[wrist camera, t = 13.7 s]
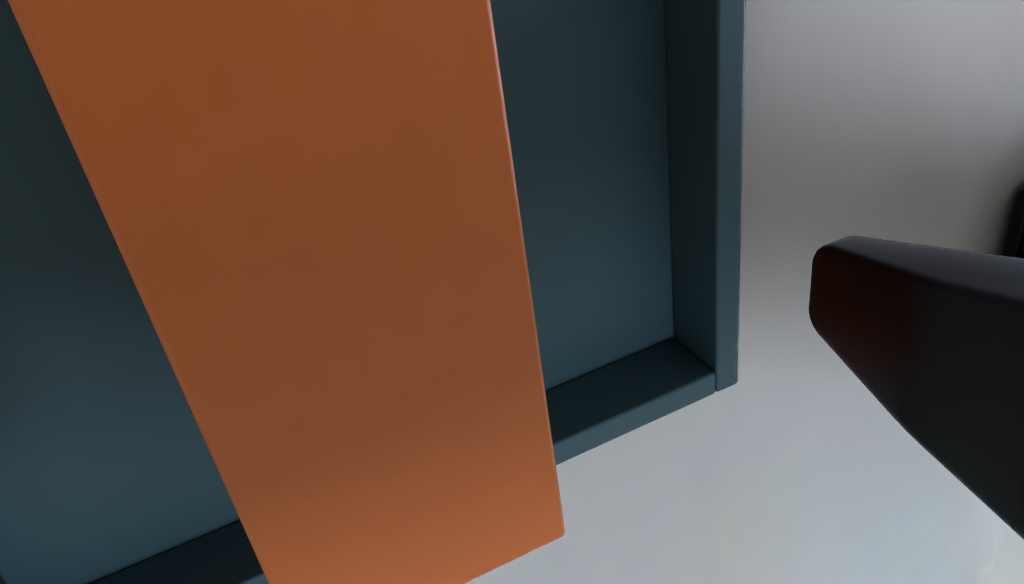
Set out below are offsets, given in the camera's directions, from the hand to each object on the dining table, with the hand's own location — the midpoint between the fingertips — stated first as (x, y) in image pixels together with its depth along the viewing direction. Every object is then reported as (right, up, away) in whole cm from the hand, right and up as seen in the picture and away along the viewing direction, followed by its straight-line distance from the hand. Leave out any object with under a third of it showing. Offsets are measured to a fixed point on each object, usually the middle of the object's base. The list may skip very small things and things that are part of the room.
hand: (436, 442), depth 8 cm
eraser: (-3, +3, +6) cm, 7 cm away
